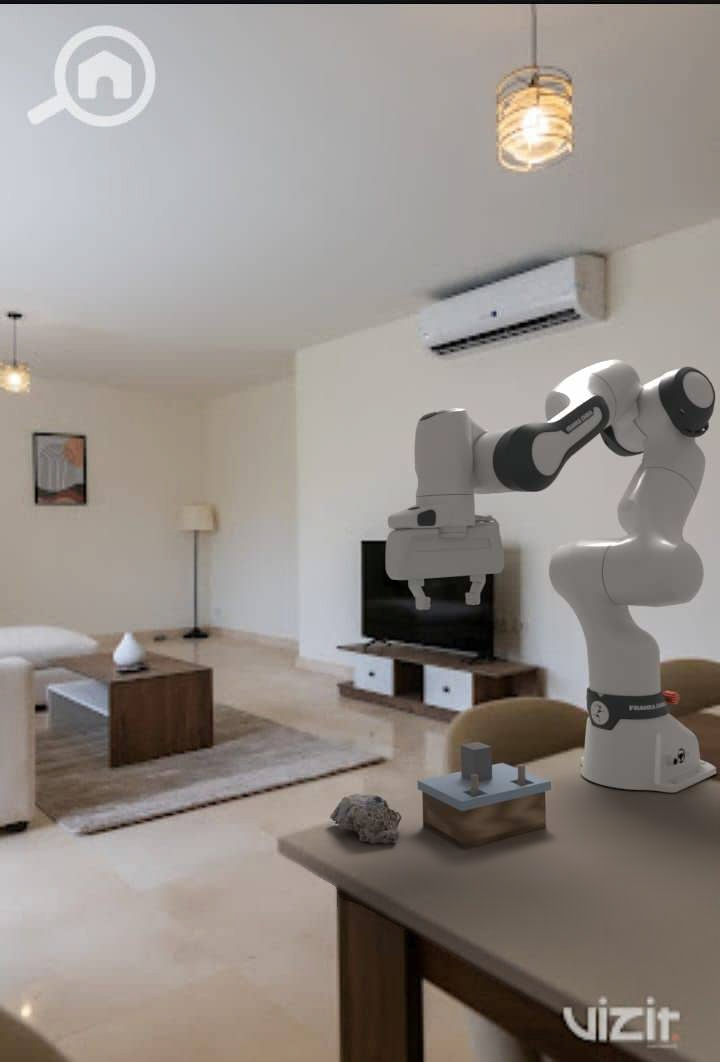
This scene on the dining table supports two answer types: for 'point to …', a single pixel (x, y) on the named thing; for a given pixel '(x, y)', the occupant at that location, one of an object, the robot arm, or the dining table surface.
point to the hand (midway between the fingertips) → (448, 606)
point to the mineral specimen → (368, 818)
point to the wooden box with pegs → (485, 817)
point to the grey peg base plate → (481, 781)
